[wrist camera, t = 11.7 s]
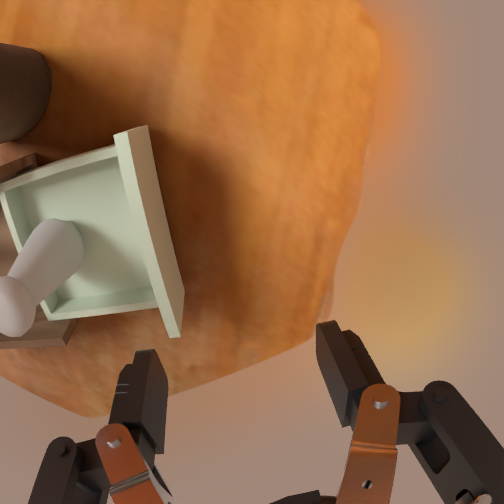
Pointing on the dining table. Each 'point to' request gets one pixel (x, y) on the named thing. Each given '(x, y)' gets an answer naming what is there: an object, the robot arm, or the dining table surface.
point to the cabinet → (3, 257)
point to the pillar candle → (21, 90)
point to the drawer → (104, 229)
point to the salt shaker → (38, 273)
